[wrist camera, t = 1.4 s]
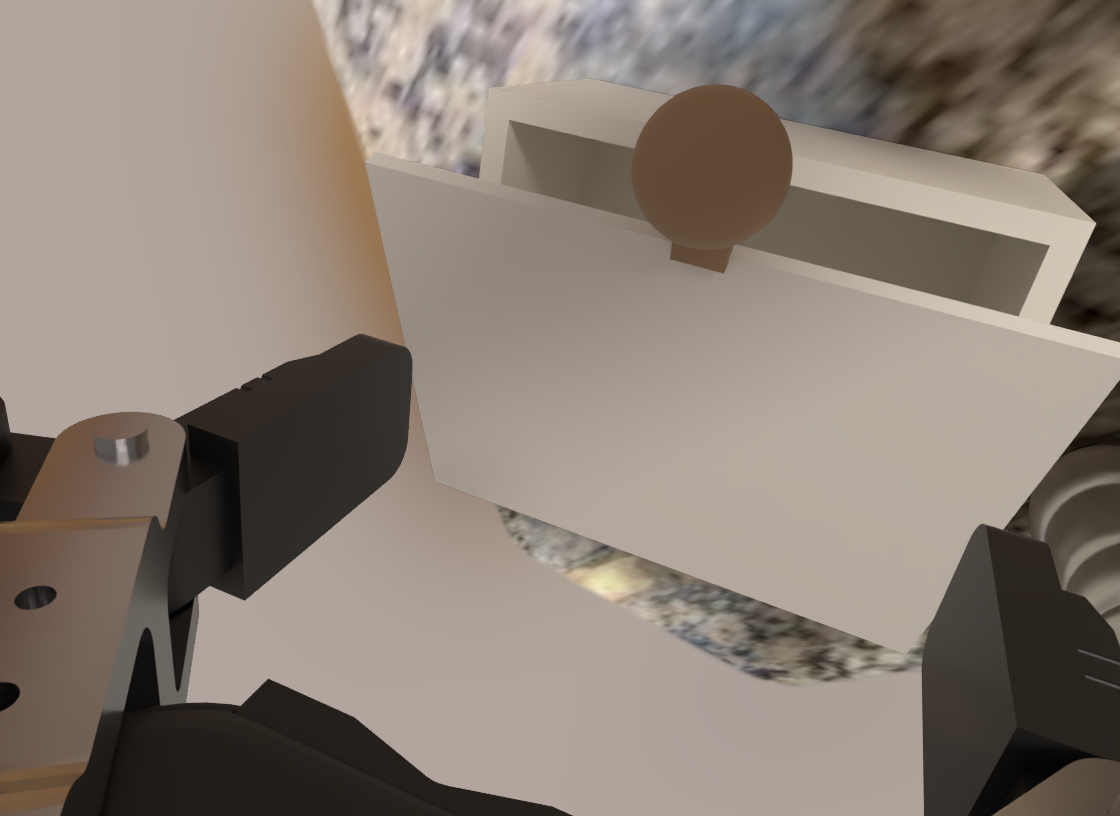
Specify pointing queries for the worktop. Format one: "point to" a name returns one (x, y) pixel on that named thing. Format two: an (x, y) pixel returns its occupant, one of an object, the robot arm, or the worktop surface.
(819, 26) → the worktop surface
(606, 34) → the worktop surface
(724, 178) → the carton lid
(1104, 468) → the plastic bottle
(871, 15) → the worktop surface
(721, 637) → the worktop surface
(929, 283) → the carton
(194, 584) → the robot arm
